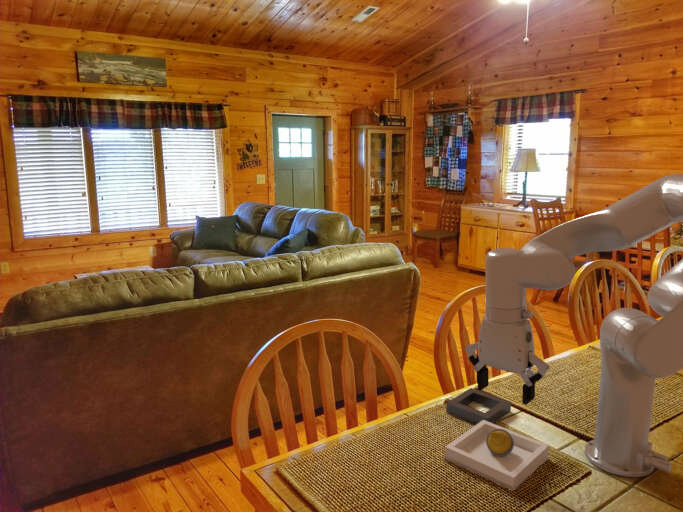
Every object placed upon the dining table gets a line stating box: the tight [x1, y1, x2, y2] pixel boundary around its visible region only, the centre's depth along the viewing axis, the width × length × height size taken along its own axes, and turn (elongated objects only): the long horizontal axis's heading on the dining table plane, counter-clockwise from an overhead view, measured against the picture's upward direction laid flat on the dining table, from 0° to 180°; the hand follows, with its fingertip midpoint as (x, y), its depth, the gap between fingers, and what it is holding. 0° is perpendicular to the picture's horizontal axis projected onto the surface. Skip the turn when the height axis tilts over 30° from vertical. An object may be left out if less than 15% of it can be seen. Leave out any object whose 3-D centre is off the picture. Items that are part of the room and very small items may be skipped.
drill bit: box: [486, 429, 514, 457], centre depth 109 cm, size 5×5×10 cm
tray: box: [444, 420, 550, 492], centre depth 110 cm, size 15×15×3 cm
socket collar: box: [445, 387, 512, 425], centre depth 129 cm, size 11×11×2 cm
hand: (504, 394), depth 107 cm, fingers open, 9 cm apart
